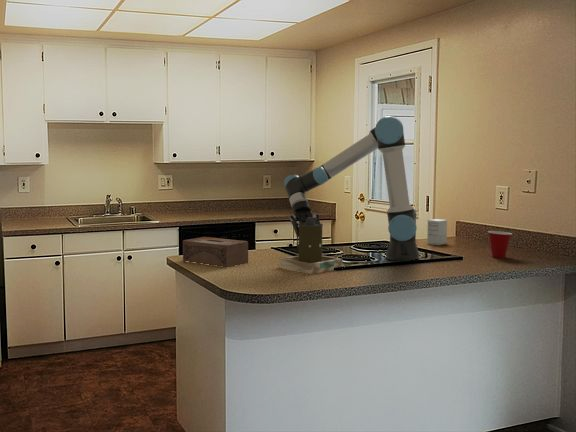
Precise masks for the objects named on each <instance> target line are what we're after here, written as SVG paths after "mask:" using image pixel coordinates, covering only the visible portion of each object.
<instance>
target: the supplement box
mask: <svg viewBox="0 0 576 432" xmlns="http://www.w3.org/2000/svg"><path fill="white" fill-rule="evenodd" d="M426 238H427V244H428V245H435V246H442V245H446V244H448V243H447V242H448V220H447V219H442V218H441V219H440V218H434V219H433V218H432V219H428V220H427V237H426Z"/></svg>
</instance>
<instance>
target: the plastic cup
mask: <svg viewBox="0 0 576 432" xmlns="http://www.w3.org/2000/svg"><path fill="white" fill-rule="evenodd" d="M487 233H488V236H489V244H490V245H489V246H490V251H491V256H492V258H496V259H505V258H506V256H507V250H508V248H509V247H508V246H509V243H510V238H511V236H512V235H513V233H512V232H508V231H498V230H487Z"/></svg>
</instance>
